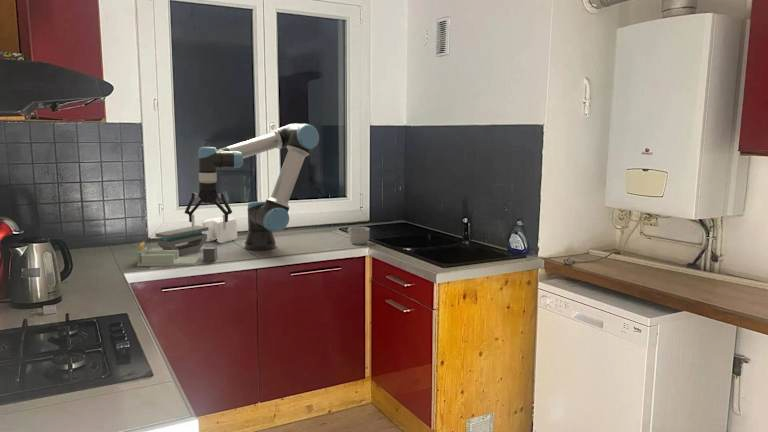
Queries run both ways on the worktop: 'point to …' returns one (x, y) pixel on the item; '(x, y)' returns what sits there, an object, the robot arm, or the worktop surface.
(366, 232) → the teacup
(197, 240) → the sharpening stone
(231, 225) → the cable organizer
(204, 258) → the plug
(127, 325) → the worktop surface
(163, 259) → the header
